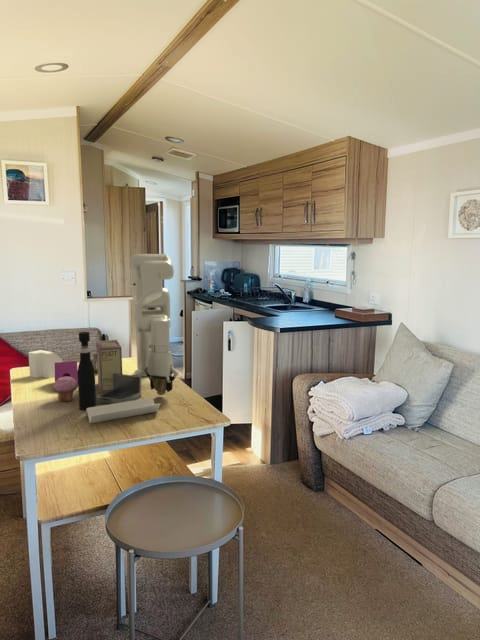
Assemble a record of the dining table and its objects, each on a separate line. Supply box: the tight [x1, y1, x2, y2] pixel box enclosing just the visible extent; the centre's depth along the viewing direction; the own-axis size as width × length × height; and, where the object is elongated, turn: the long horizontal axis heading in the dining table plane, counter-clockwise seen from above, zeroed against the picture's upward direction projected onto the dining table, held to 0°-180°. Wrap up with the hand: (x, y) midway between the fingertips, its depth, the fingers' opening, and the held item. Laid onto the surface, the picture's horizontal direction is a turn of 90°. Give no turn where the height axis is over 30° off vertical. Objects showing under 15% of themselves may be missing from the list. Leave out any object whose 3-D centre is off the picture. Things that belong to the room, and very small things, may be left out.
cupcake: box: [53, 376, 78, 402], centre depth 197 cm, size 9×9×10 cm
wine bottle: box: [77, 331, 97, 412], centre depth 186 cm, size 6×6×30 cm
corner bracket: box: [28, 349, 64, 379], centre depth 235 cm, size 11×11×12 cm
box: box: [95, 339, 123, 395], centre depth 214 cm, size 17×9×20 cm, turn 21°
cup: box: [152, 376, 170, 396], centre depth 201 cm, size 8×7×8 cm
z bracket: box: [84, 397, 161, 424], centre depth 180 cm, size 12×25×6 cm
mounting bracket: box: [54, 360, 78, 391], centre depth 218 cm, size 10×9×19 cm
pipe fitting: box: [91, 351, 98, 373], centre depth 244 cm, size 12×8×10 cm
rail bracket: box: [96, 373, 142, 405], centre depth 197 cm, size 13×13×9 cm
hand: (161, 389), depth 201 cm, fingers closed on cup, 7 cm apart
